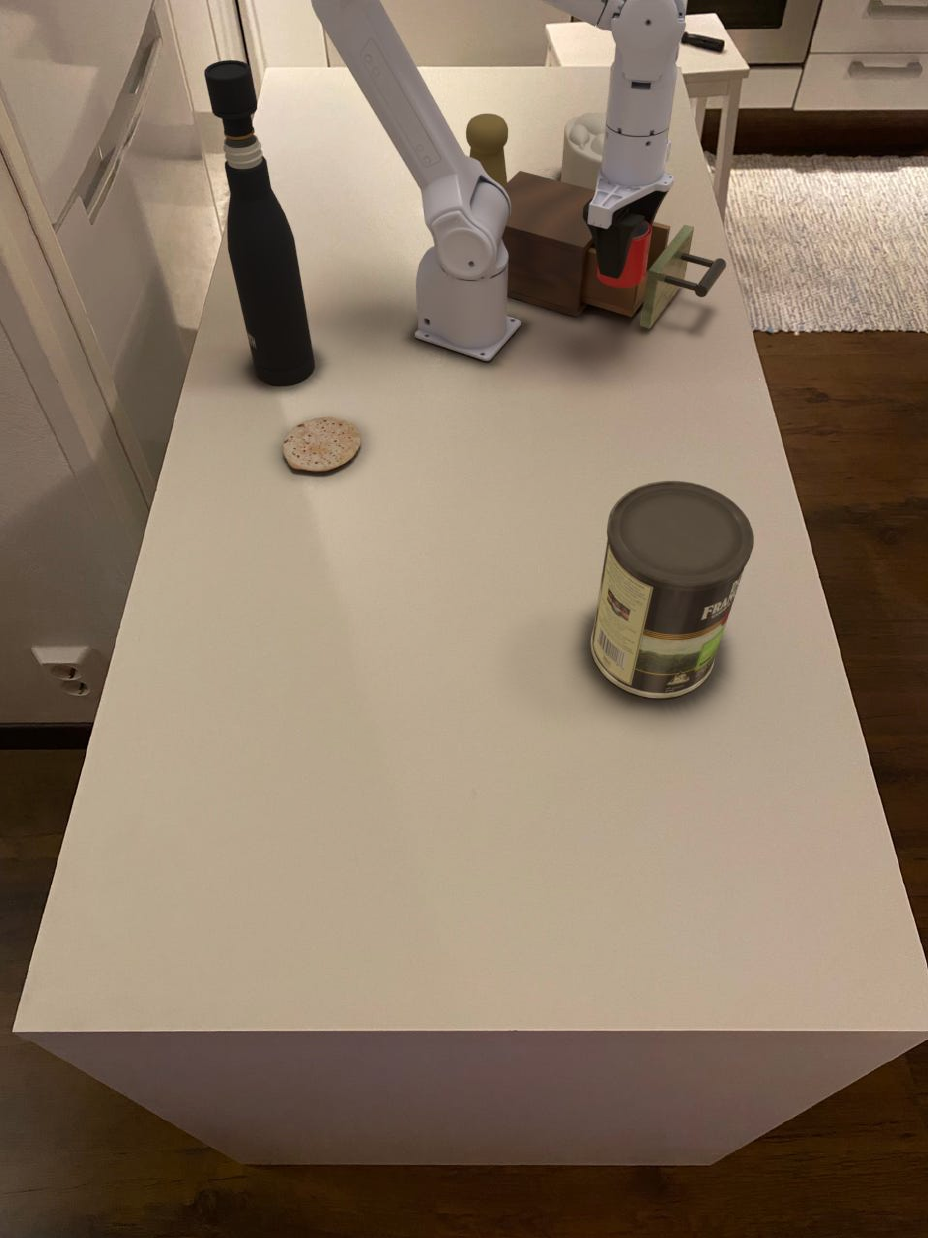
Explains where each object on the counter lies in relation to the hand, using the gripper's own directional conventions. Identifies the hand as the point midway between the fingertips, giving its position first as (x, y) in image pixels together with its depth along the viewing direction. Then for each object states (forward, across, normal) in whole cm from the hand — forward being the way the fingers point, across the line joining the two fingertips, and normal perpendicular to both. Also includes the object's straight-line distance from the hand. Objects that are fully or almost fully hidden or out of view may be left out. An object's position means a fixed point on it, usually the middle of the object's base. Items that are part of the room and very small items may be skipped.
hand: (621, 261), depth 95 cm
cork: (+10, +20, +27) cm, 35 cm away
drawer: (+10, +9, +1) cm, 13 cm away
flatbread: (+10, -29, +18) cm, 36 cm away
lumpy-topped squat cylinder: (+10, +30, +15) cm, 35 cm away
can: (+1, 0, 0) cm, 1 cm away
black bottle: (+10, -20, +29) cm, 37 cm away
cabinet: (+10, +9, +13) cm, 19 cm away
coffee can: (+11, -36, -20) cm, 42 cm away
